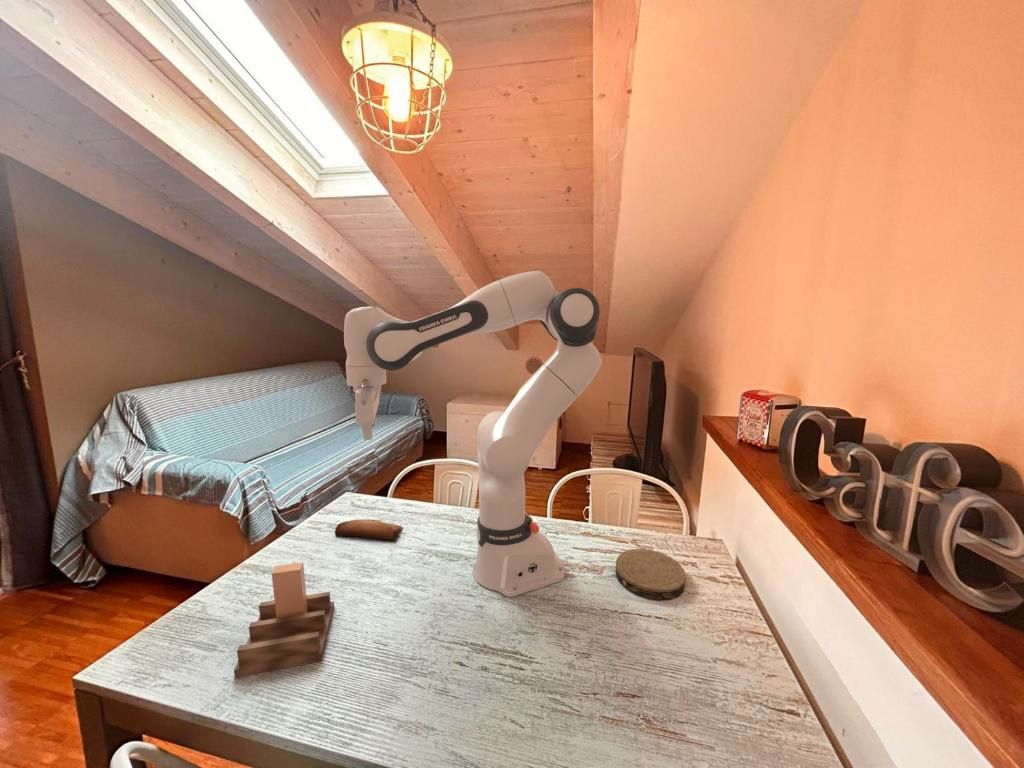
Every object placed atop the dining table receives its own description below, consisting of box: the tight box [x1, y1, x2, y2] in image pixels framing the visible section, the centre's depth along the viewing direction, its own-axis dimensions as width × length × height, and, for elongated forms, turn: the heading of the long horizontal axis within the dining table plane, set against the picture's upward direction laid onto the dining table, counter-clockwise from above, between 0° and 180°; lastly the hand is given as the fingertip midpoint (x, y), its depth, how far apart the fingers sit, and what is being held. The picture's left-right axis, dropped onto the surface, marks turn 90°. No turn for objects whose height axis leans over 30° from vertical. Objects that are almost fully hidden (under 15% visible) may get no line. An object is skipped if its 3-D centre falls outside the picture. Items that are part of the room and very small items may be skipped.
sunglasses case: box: [334, 518, 404, 542], centre depth 117 cm, size 18×7×7 cm
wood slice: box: [615, 548, 687, 602], centre depth 98 cm, size 16×16×3 cm
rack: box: [233, 591, 335, 678], centre depth 79 cm, size 14×14×4 cm
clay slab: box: [271, 562, 308, 618], centre depth 80 cm, size 5×2×12 cm, turn 105°
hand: (369, 433), depth 98 cm, fingers open, 8 cm apart
